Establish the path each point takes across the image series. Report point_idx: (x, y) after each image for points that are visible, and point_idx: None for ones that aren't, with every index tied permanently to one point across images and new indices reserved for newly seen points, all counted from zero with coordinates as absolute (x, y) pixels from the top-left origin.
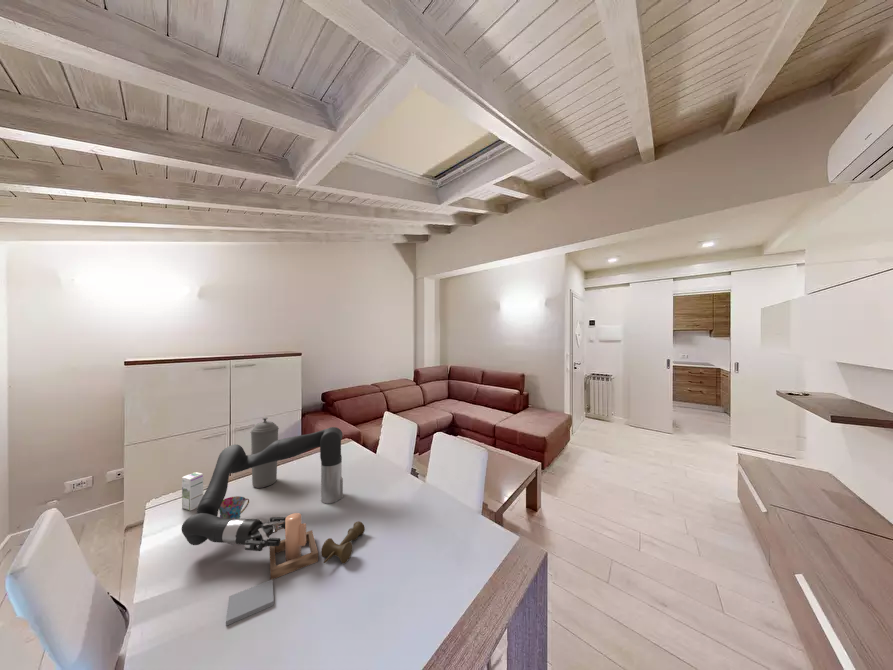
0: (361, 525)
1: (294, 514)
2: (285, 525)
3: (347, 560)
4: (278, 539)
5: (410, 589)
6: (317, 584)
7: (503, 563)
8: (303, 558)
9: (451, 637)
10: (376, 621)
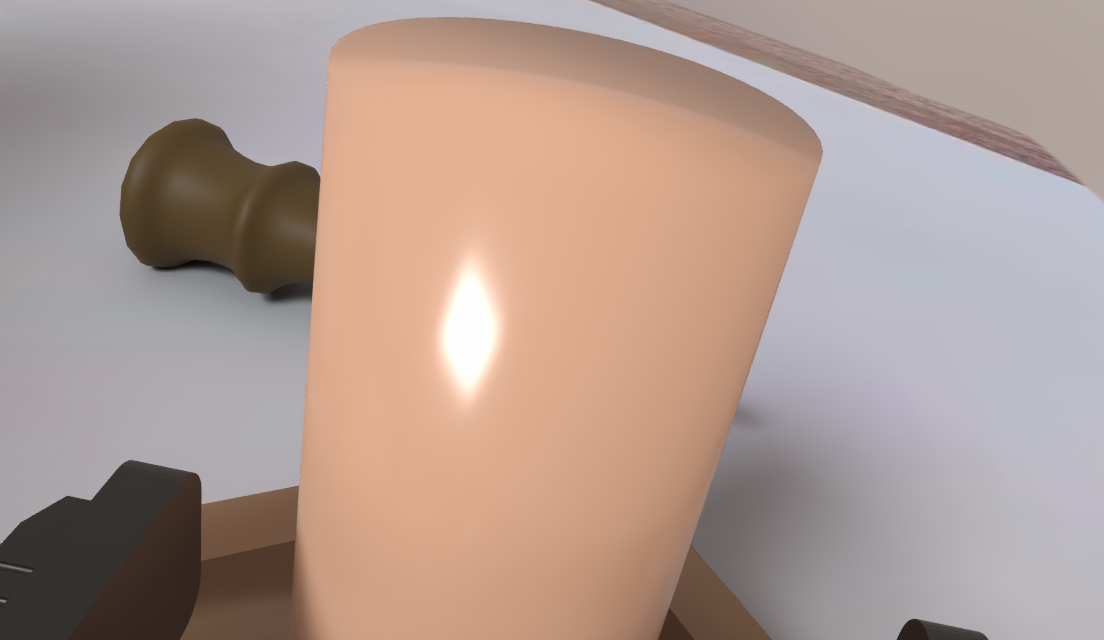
0: (226, 139)
1: (420, 68)
2: (701, 367)
3: None
4: (978, 634)
5: None
6: (877, 490)
7: (621, 9)
8: (698, 559)
9: (969, 138)
10: (1013, 256)
